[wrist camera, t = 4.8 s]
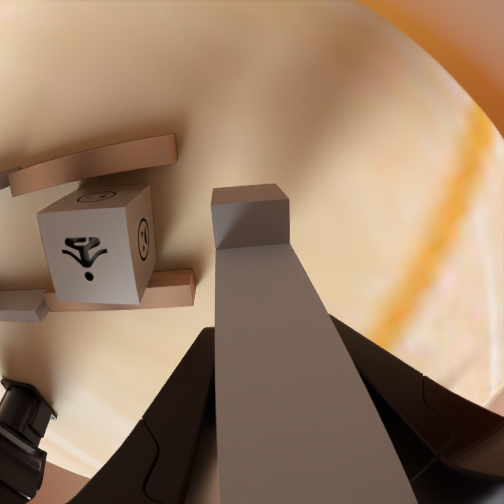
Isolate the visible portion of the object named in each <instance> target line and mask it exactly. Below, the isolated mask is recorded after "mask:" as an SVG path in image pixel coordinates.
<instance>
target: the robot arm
mask: <svg viewBox="0 0 504 504" xmlns="http://www.w3.org/2000/svg"><path fill="white" fill-rule="evenodd" d="M329 316H330V318H331V320H332V322H333V324H334V326H335V328H336V330H337V332H338V334H339V336H340V337H341V339H342V341H343V343H344V345H345V347H346V349H347V351H348V353H349V355H350V357H351V359H352V361H353V363H354V365H355V367H356V369H357V371H358V373H359V375H360V377H361V379H362V381H363V383H364V385H365V387H366V389H367V391H368V393H369V395H370V398H371V400H372V402H373V404H374V406H375V408H376V410H377V412H378V414H379V416H380V419H381V421H382V423H383V425H384V427H385V429H386V431H387V434H388V436H389V438H390V440H391V442H392V444H393V447H394V449H395V451H396V453H397V456H398V458H399V460H400V462H401V465H402V467H403V469H404V471H405V474H406V476H407V478H408V481H409V483H410V485H411V488H412V490H413V493H414V495H415V497H416V500H417V502H418V504H504V417H503V416H501V415H498V414H496V413H494V412H492V411H490V410H488V409H486V408H484V407H481V406H479V405H477V404H475V403H473V402H471V401H469V400H467V399H465V398H463V397H461V396H459V395H457V394H455V393H453V392H452V391H450V390H448V389H446V388H445V387H443V386H441V385H440V384H438V383H436V382H435V381H433V380H432V379H430V378H428V377H427V376H423V374H422V373H420V372H419V371H417V370H416V369H414V368H413V367H411V366H409V365H408V364H406V363H405V362H403V361H402V360H400V359H399V358H397V357H395V356H394V355H392V354H391V353H389V352H388V351H386V350H385V349H383V348H381V347H380V346H378V345H377V344H375V343H374V342H372V341H371V340H369V339H367V338H366V337H364V336H363V335H361V334H360V333H358V332H357V331H355V330H354V329H352V328H350V327H349V326H347V325H346V324H344V323H343V322H341V321H340V320H338V319H337V318H335V317H334V316H332V315H330V314H329ZM0 382H1V384H2V385H3V387H4V388H5V389H6V392H5V394H4V396H3V398H2V400H1V402H0V504H26V503H28V502H29V501H30V500H31V499H33V498H34V497H35V495H36V493H37V492H38V491H39V489H40V487H41V484H42V481H43V475H44V468H45V462H46V456H47V452H45V451H44V450H41V449H40V448H38V446H39V443H40V440H41V438H43V437H44V434H45V431H46V428H47V426H48V423H49V420H50V419H52V420H56V419H57V416H56V415H55V414H54V412H53V411H52V410H51V409H50V407H49V406H48V405H47V404H46V402H45V401H44V400H43V399H42V397H41V396H40V395H39V393H38V392H37V391H36V389H35V388H34V387H33V386H31V385H27V384H22V383H17V382H13V381H8V380H4V379H2V380H1V381H0ZM142 419H143V420H142ZM142 419H140V420H139V422H138V423H137V425H136V426H135V427H134V429H133V430H132V432H131V433H130V434H129V436H128V437H127V438H126V440H125V441H124V442H123V444H122V445H121V446H120V447H119V449H118V450H117V451H116V452H115V453H114V454H113V456H112V457H111V458H110V459H109V460H108V461H107V462H106V464H105V465H104V466H103V467H102V468H101V469H100V470H99V471H98V472H97V473H96V474H95V475H94V476H93V477H92V479H91V480H90V481H89V482H88V483H87V484H86V485H85V486H84V487H83V488H82V489H81V490H80V491H79V492H78V493H77V494H76V495H75V496H74V497H73V498H72V499H71V500H70V501H68V502H67V503H65V504H220V489H219V472H218V452H217V427H216V392H215V327H206V328H204V329H203V330H202V331H201V332H200V334H199V335H198V337H197V338H196V340H195V341H194V343H193V344H192V345H191V347H190V348H189V350H188V351H187V353H186V354H185V356H184V357H183V358H182V360H181V361H180V363H179V364H178V366H177V367H176V369H175V370H174V371H173V373H172V374H171V376H170V377H169V379H168V380H167V382H166V383H165V384H164V386H163V387H162V389H161V390H160V392H159V393H158V395H157V396H156V397H155V399H154V400H153V402H152V403H151V405H150V406H149V408H148V409H147V410H146V412H145V413H144V415H143V416H142Z"/></svg>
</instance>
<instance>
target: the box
mask: <svg viewBox="0 0 504 504" xmlns="http://www.w3.org/2000/svg"><path fill="white" fill-rule="evenodd" d="M19 170H20V167H17V168H14V169H11V170H8V171H6V172H3V173H0V190H1V189H3V188H6V187H8V186H10V183H9V177H8V174H11V173H14V172H16V171H19ZM45 290H46V289H35V290H12V291H0V321H16V322H41V321H42V320H43V318H44V317H45V315H46V314H47V312H48V311H49V309H48V307H47V304H46V302H45V299H44V297H43V295H42V294H43V292H44V291H45Z"/></svg>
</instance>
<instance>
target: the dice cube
mask: <svg viewBox="0 0 504 504" xmlns="http://www.w3.org/2000/svg"><path fill="white" fill-rule="evenodd" d="M37 218H38V224H39V229H40V234H41V238H42V243H43V247H44V251H45V255H46V259H47V263H48V267H49V270H50V274H51V278H52V281H53V284H54V288H55V291H56V294H57V297H58V300H59V301H67V302H84V303H106V304H137V305H140V302H141V300H142V297H143V295H144V292H145V289H146V287H147V284H148V282H149V279H150V277H151V274H152V272H153V269H154V267H155V265H156V262H157V254H156V245H155V235H154V225H153V212H152V199H151V184H136V185H121V186H107V187H95V188H84V189H77V190H76V191H74V192H72V193H70V194H68V195H67V196H65V197H63V198H62V199H60V200H58V201H56V202H55V203H53V204H51V205H50V206H48V207H46V208H45V209H43V210H42V211H40V212H38V213H37Z"/></svg>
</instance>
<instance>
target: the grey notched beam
mask: <svg viewBox="0 0 504 504" xmlns="http://www.w3.org/2000/svg"><path fill="white" fill-rule="evenodd" d="M211 210H212V220H213V229H214V238H215V247H216V265H215V392H216V427H217V452H218V472H219V489H220V504H418V502H417V500H416V497H415V495H414V493H413V490H412V488H411V485H410V483H409V481H408V478H407V476H406V474H405V471H404V469H403V467H402V465H401V462H400V460H399V458H398V456H397V453H396V451H395V449H394V447H393V444H392V442H391V440H390V438H389V436H388V434H387V431H386V429H385V427H384V425H383V423H382V421H381V419H380V416H379V414H378V412H377V410H376V408H375V406H374V404H373V402H372V400H371V398H370V395H369V393H368V391H367V389H366V387H365V385H364V383H363V381H362V379H361V377H360V375H359V373H358V371H357V369H356V367H355V365H354V363H353V361H352V359H351V357H350V355H349V353H348V351H347V349H346V347H345V345H344V343H343V341H342V339H341V337H340V336H339V334H338V332H337V330H336V328H335V326H334V324H333V322H332V320H331V318H330V316H329V314H328V313H327V311H326V309H325V307H324V305H323V303H322V301H321V299H320V297H319V296H318V294H317V292H316V290H315V288H314V286H313V285H312V283H311V281H310V279H309V277H308V275H307V273H306V272H305V270H304V268H303V266H302V264H301V263H300V261H299V259H298V257H297V255H296V254H295V252H294V250H293V248H292V246H291V245H290V218H289V198H288V197H287V196H286V195H285V194H284V193H283V191H282V190H281V189H280V188H279V187H278V186H277V185H276V184H263V185H249V186H237V187H225V188H214V189H213V193H212V201H211Z"/></svg>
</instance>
